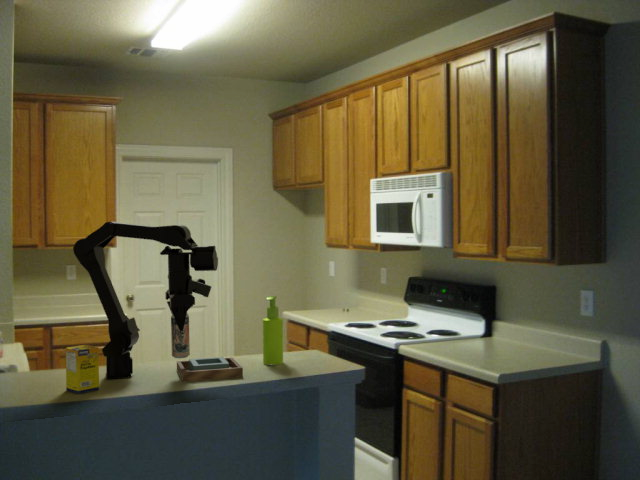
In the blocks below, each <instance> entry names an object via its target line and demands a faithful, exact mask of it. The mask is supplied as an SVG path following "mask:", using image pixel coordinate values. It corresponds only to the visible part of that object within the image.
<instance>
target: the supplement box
mask: <svg viewBox="0 0 640 480" xmlns="http://www.w3.org/2000/svg"><path fill="white" fill-rule="evenodd" d="M99 359H100V358H99V347H98V346H93V345H90V344H82V345H75V346H68V347H65V375H66V376H65V380H66V383H65V386H66V387H65V389H66V391H68V392H71V393H75V394H76V395H79V394H80V395H81V394H84V393H90V392H95V391H99V390H100V372H99V371H100V370H99V369H100V368H99V366H100V364H99Z"/></svg>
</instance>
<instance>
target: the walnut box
mask: <svg viewBox="0 0 640 480" xmlns="http://www.w3.org/2000/svg"><path fill="white" fill-rule="evenodd" d="M224 358H225V360H226V361H227V362H228V363H229V368H223V369H210V370H196V371H190V370H189V360H176V372H177V373H178V375H179V377H180V379H181V380H182V382H183V383H184V382H195V381H197V382H198V381H207V380H208V381H209V380H211V381H212V380H220V379H222V380H223V379H232V378H233V379H234V378H243V377H244V373H243V372H244V369H243V366H241V364H240V363H238V361H236V360H235V359H234V357H231V356H230V357H224Z"/></svg>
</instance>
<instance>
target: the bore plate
mask: <svg viewBox="0 0 640 480" xmlns="http://www.w3.org/2000/svg"><path fill="white" fill-rule="evenodd" d="M225 358H226V357H224V356H217V357H216V356H213V357H201V358H189V370H190V371H196V370H210V369H223V368H229V363H228V362H227V361H226V360H225Z"/></svg>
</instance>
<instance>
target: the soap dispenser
mask: <svg viewBox="0 0 640 480" xmlns="http://www.w3.org/2000/svg"><path fill="white" fill-rule="evenodd" d="M277 298H278V296H277V295H268V296H267V297H266V299H265V300H266V301H269V306H267V308H266V318H263V319H262V355H263V357H262V360H263V361H262V363H264V364H263V365H266V364H272V365H271V366H276V365H275V364H279V365H281V363H282V364H284V324H283V323H284V321H283V318H282V317H279V307H278V306H277V304H276V299H277Z"/></svg>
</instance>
